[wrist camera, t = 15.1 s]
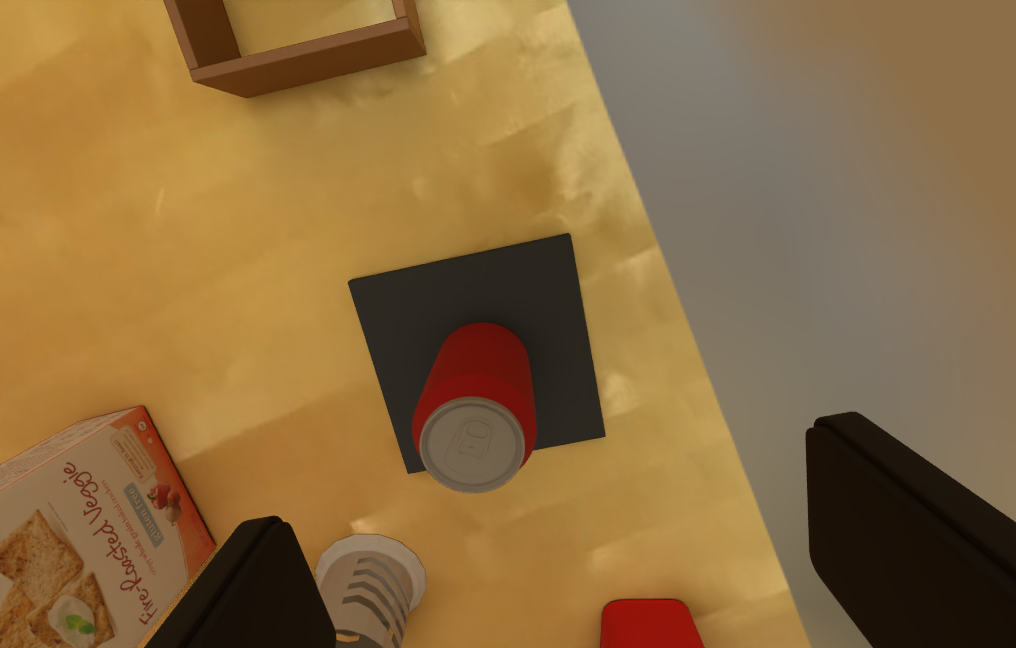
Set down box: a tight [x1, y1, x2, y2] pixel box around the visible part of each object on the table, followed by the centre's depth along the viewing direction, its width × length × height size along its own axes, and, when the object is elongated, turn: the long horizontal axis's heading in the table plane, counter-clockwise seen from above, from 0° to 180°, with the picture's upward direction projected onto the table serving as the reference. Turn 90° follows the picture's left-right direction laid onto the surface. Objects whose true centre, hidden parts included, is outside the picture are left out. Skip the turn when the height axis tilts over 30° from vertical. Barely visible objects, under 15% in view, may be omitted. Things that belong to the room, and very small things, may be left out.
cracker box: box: [0, 406, 215, 648], centre depth 30 cm, size 14×6×21 cm, turn 14°
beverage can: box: [412, 322, 537, 493], centre depth 30 cm, size 7×7×12 cm
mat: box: [348, 233, 605, 474], centre depth 36 cm, size 16×16×1 cm
